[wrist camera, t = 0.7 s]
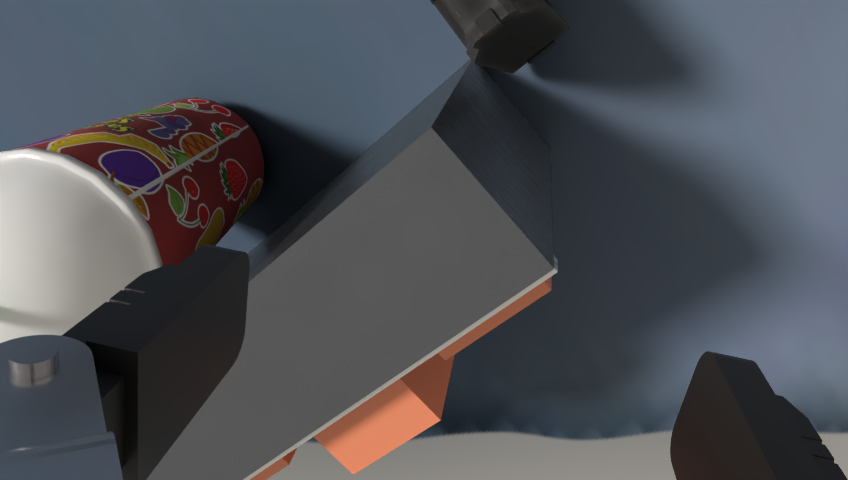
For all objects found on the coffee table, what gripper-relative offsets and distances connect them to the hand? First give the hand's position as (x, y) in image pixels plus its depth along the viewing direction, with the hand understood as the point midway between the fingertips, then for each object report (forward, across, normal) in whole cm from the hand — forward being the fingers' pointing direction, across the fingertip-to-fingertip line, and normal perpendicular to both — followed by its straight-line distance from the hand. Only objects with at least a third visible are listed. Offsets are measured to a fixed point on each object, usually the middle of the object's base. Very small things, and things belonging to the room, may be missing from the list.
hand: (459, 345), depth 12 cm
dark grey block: (+24, +6, +8) cm, 26 cm away
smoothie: (+24, +15, +6) cm, 29 cm away
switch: (+17, +3, +10) cm, 20 cm away
